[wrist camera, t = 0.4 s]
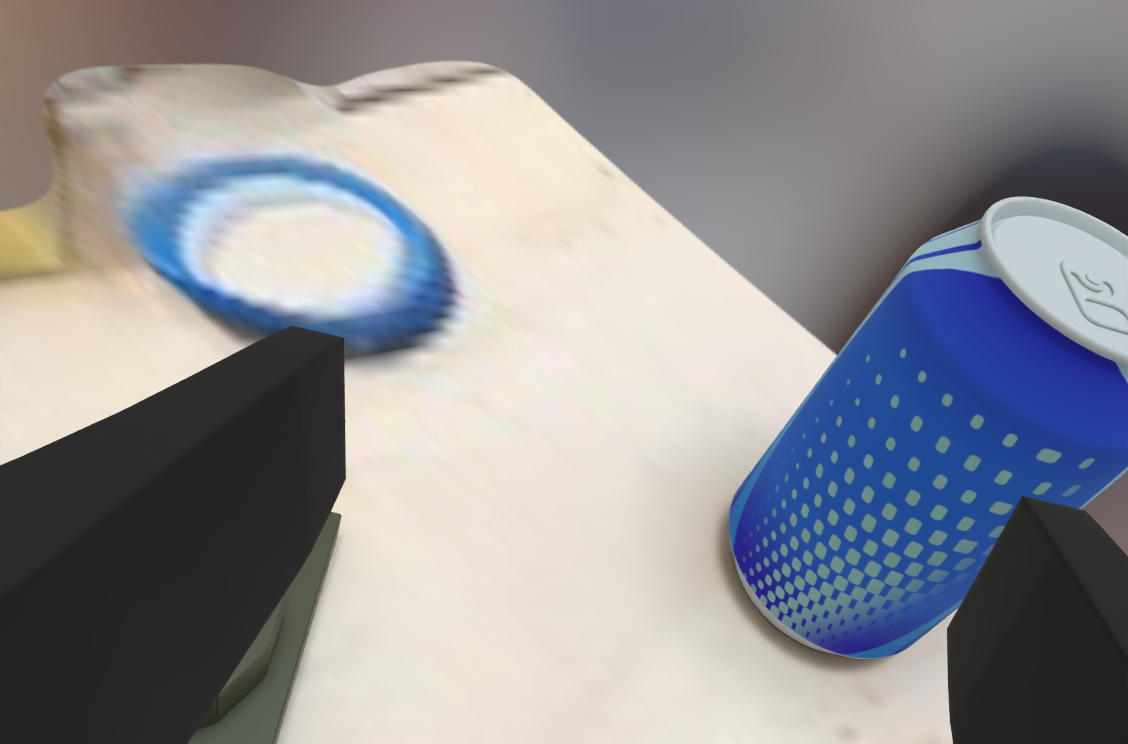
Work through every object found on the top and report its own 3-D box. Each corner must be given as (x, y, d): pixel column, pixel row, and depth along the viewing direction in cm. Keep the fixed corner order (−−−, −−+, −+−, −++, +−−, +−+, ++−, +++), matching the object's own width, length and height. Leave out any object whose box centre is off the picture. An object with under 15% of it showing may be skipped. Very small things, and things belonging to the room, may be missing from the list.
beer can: (672, 552, 35) (904, 229, 23) (784, 450, 40) (1016, 146, 29) (850, 722, 32) (1208, 451, 21) (945, 588, 37) (1270, 314, 26)
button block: (244, 851, 24) (249, 815, 22) (-80, 796, 23) (-107, 753, 21) (338, 532, 31) (348, 482, 29) (93, 477, 30) (85, 420, 28)
